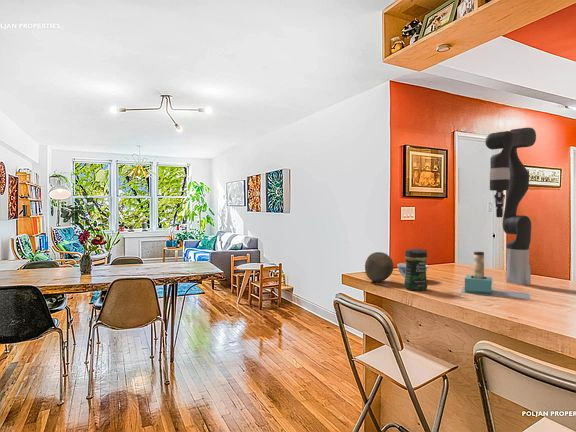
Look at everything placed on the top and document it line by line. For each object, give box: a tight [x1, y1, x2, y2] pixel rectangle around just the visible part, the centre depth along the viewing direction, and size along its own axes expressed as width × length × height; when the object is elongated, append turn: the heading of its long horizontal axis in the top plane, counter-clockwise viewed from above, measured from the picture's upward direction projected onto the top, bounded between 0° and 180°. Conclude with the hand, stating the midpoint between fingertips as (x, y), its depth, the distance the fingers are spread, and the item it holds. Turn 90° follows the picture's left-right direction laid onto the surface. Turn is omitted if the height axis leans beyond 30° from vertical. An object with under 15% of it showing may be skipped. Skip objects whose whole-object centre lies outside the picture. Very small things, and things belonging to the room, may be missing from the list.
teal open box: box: [464, 274, 493, 296], centre depth 161 cm, size 10×10×6 cm
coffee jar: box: [404, 248, 428, 291], centre depth 170 cm, size 10×8×19 cm
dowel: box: [473, 251, 485, 279], centre depth 160 cm, size 4×4×16 cm
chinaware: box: [396, 262, 429, 278], centre depth 193 cm, size 15×15×8 cm
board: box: [460, 286, 531, 301], centre depth 158 cm, size 25×13×1 cm, turn 59°
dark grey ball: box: [364, 251, 394, 283], centre depth 188 cm, size 14×14×15 cm
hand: (499, 217), depth 158 cm, fingers open, 8 cm apart
